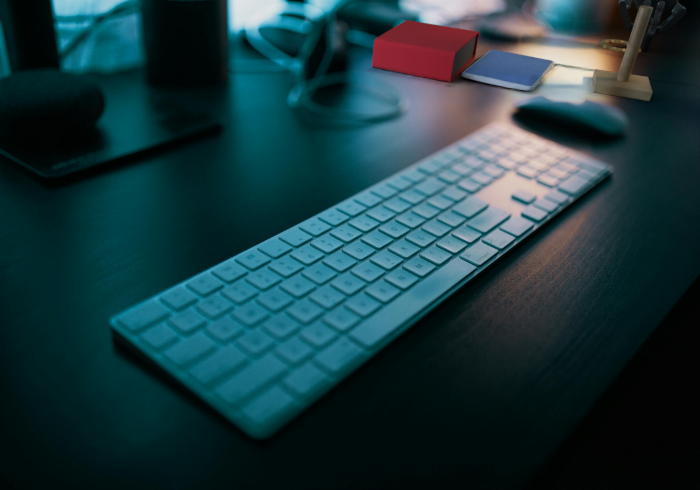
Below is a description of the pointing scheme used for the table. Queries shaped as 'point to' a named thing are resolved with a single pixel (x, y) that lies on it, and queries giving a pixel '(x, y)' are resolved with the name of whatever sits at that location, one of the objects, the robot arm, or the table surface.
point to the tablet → (509, 70)
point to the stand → (627, 66)
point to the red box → (425, 50)
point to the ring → (605, 42)
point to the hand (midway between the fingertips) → (636, 52)
